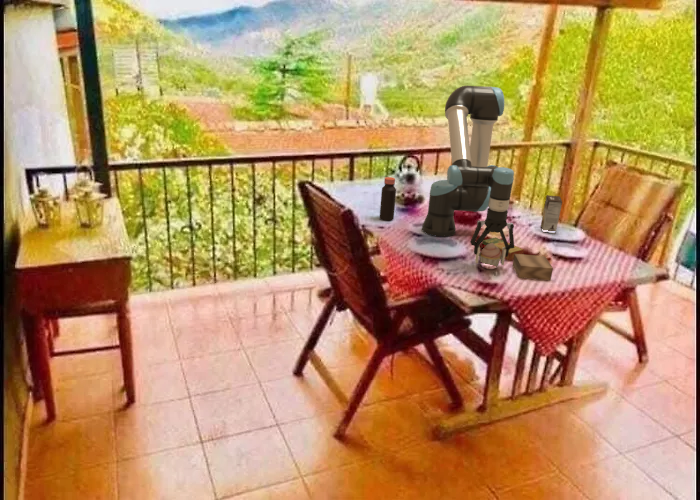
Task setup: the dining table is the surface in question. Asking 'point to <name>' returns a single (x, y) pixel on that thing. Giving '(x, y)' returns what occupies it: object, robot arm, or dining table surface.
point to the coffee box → (551, 213)
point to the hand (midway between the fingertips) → (489, 262)
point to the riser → (532, 267)
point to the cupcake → (490, 255)
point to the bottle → (388, 200)
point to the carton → (500, 245)
